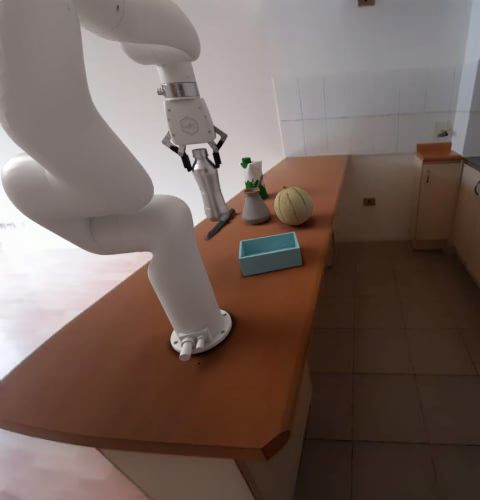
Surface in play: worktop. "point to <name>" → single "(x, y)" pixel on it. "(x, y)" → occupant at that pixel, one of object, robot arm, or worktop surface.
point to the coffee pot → (255, 206)
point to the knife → (220, 223)
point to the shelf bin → (269, 253)
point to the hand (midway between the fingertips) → (204, 168)
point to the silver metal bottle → (209, 186)
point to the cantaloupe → (293, 205)
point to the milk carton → (253, 175)
